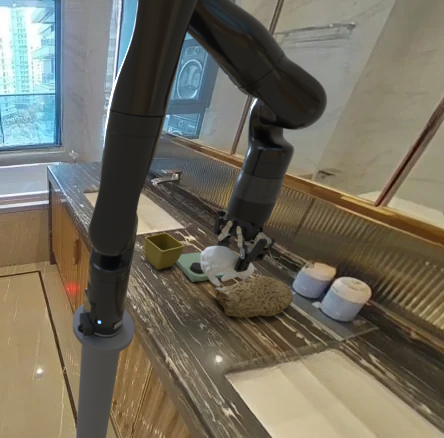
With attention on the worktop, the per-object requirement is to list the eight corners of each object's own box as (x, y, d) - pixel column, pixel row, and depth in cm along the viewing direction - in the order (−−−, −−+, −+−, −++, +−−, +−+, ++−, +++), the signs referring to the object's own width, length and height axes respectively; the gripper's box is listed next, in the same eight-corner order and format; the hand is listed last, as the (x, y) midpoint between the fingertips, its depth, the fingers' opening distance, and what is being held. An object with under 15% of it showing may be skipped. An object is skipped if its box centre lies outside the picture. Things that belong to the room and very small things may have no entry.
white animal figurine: (203, 239, 65) (252, 242, 66) (191, 269, 69) (237, 271, 70) (218, 256, 59) (272, 258, 60) (204, 287, 63) (254, 289, 64)
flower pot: (161, 253, 98) (166, 231, 94) (179, 268, 91) (185, 245, 87) (140, 259, 95) (144, 236, 91) (157, 275, 88) (162, 251, 84)
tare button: (194, 274, 84) (196, 270, 83) (187, 267, 87) (189, 262, 86) (205, 273, 85) (207, 268, 84) (198, 266, 88) (199, 261, 87)
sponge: (231, 329, 72) (315, 316, 70) (230, 303, 69) (317, 289, 67) (206, 299, 84) (276, 287, 82) (205, 276, 82) (277, 264, 80)
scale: (191, 285, 84) (193, 277, 83) (168, 259, 95) (169, 251, 94) (239, 279, 86) (243, 271, 85) (211, 253, 98) (213, 246, 96)
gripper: (304, 208, 50) (270, 281, 58) (244, 180, 63) (223, 243, 71) (266, 211, 49) (237, 285, 57) (213, 182, 62) (195, 246, 70)
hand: (229, 262), depth 64 cm, fingers closed on white animal figurine, 5 cm apart
